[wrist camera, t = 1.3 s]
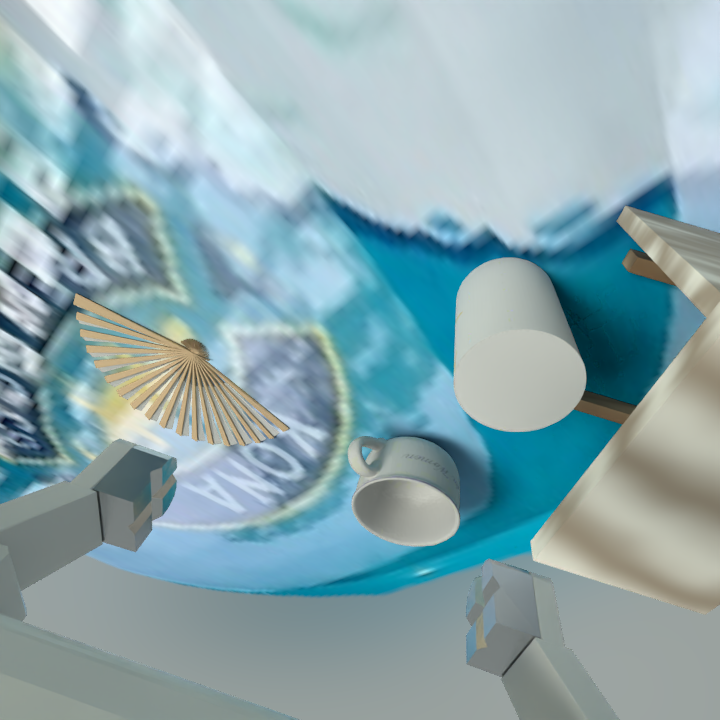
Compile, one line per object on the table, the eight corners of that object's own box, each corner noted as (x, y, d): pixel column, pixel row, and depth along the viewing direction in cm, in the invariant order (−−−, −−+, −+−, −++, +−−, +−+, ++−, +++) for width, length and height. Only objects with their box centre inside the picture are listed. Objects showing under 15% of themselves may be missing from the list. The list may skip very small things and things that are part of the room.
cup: (437, 295, 40) (428, 372, 30) (519, 237, 36) (539, 304, 26) (491, 358, 43) (499, 448, 33) (574, 310, 39) (611, 396, 29)
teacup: (476, 480, 51) (477, 541, 45) (391, 499, 56) (381, 558, 49) (422, 387, 46) (415, 442, 39) (333, 417, 50) (313, 470, 44)
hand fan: (87, 265, 46) (57, 359, 54) (82, 268, 45) (52, 363, 53) (305, 407, 51) (248, 474, 59) (303, 412, 50) (245, 479, 58)
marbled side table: (625, 205, 33) (740, 310, 20) (785, 252, 33) (1017, 393, 19) (511, 404, 45) (533, 560, 31) (630, 441, 45) (705, 614, 31)
